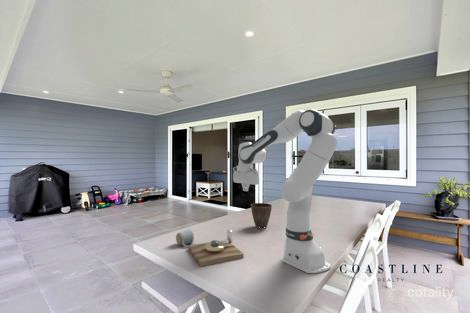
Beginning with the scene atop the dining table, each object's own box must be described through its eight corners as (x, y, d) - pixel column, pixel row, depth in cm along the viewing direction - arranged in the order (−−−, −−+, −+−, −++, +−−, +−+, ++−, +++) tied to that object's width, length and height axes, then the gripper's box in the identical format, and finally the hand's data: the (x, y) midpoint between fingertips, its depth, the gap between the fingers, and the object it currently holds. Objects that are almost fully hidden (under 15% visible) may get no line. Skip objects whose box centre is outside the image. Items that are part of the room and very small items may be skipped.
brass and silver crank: (237, 247, 118) (237, 232, 118) (210, 254, 110) (210, 238, 110) (227, 241, 126) (227, 228, 127) (201, 247, 118) (201, 232, 118)
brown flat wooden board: (243, 257, 111) (243, 252, 111) (200, 266, 102) (200, 261, 102) (226, 243, 131) (226, 239, 131) (188, 249, 122) (188, 245, 122)
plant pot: (271, 224, 169) (271, 203, 169) (272, 230, 154) (272, 207, 154) (251, 224, 170) (251, 202, 171) (250, 230, 156) (250, 206, 156)
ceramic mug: (175, 243, 130) (175, 230, 130) (187, 240, 135) (188, 227, 135) (183, 249, 122) (183, 235, 122) (197, 246, 127) (197, 232, 127)
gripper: (261, 168, 134) (261, 192, 133) (238, 168, 149) (238, 188, 149) (253, 169, 130) (253, 193, 129) (231, 168, 145) (231, 189, 145)
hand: (245, 190), depth 139 cm, fingers closed
